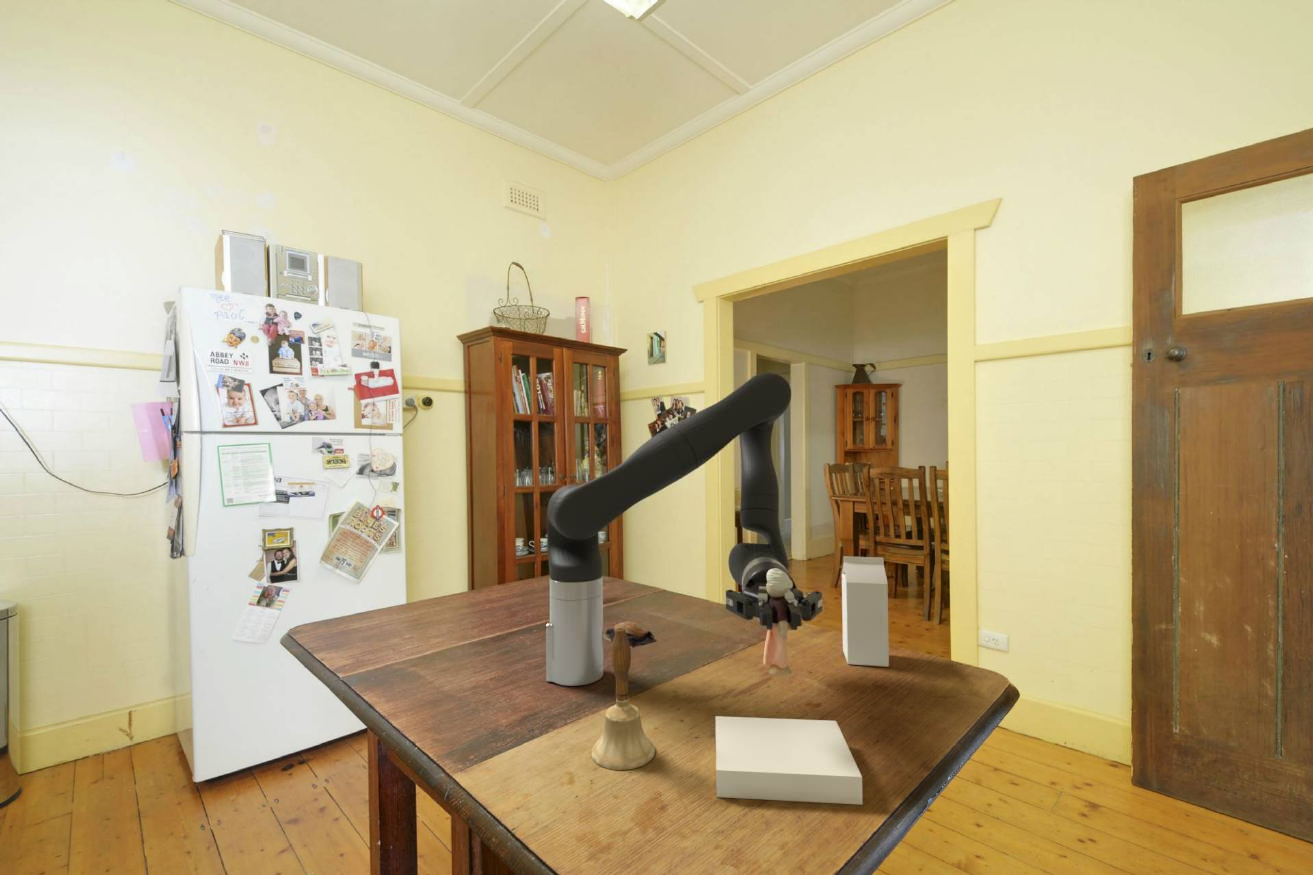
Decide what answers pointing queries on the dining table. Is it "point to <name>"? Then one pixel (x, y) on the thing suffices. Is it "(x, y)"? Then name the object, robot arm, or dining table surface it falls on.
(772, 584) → the grandmother figurine
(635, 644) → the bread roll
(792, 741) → the stone slab
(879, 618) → the milk carton
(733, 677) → the dining table surface
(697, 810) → the dining table surface
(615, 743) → the hand bell
